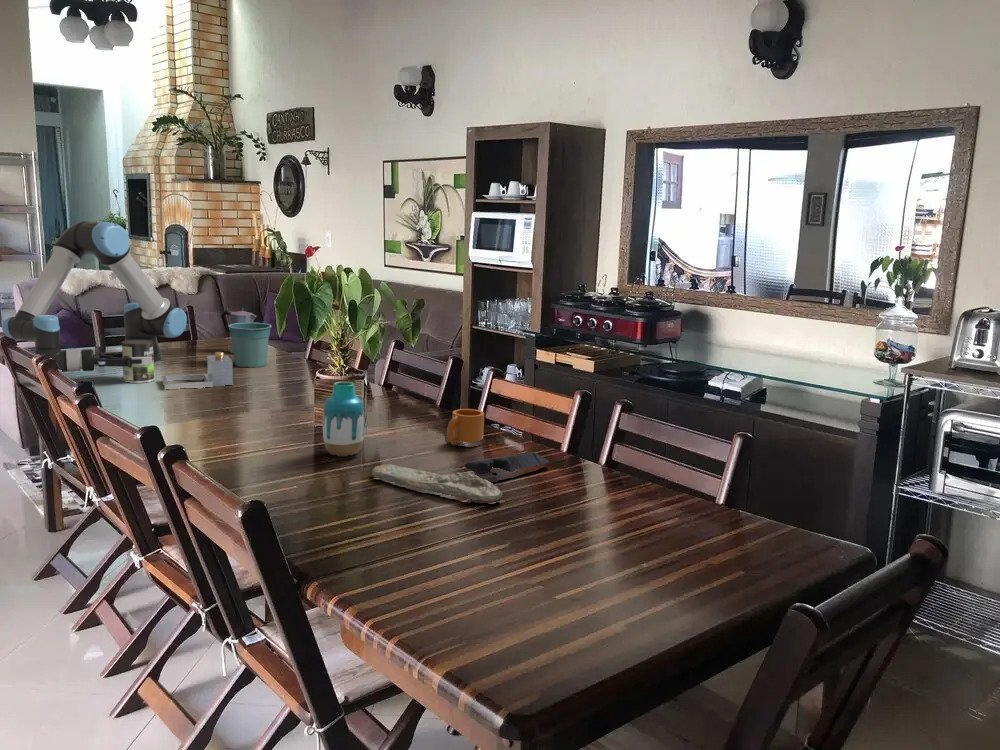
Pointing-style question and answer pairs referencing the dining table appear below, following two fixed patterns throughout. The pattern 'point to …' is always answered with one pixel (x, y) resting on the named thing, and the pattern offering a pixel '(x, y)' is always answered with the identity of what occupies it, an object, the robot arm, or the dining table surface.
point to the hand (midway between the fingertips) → (151, 357)
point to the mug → (466, 426)
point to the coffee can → (138, 371)
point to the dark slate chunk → (506, 463)
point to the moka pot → (237, 320)
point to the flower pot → (250, 343)
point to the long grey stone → (441, 482)
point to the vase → (343, 421)
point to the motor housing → (217, 374)
